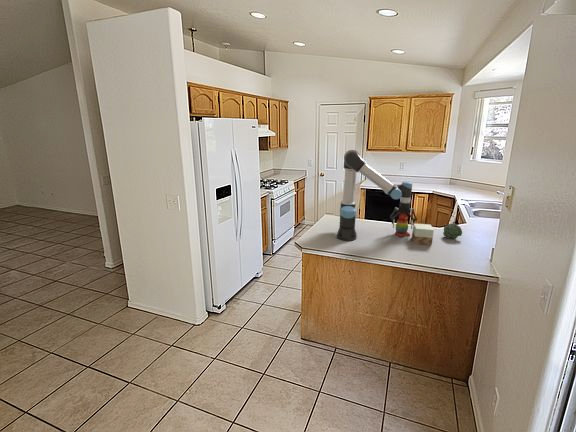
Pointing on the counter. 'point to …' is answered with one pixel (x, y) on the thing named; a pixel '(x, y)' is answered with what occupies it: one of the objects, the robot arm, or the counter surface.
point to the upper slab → (423, 230)
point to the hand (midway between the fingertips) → (402, 228)
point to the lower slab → (421, 240)
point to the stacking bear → (402, 226)
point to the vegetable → (452, 231)
